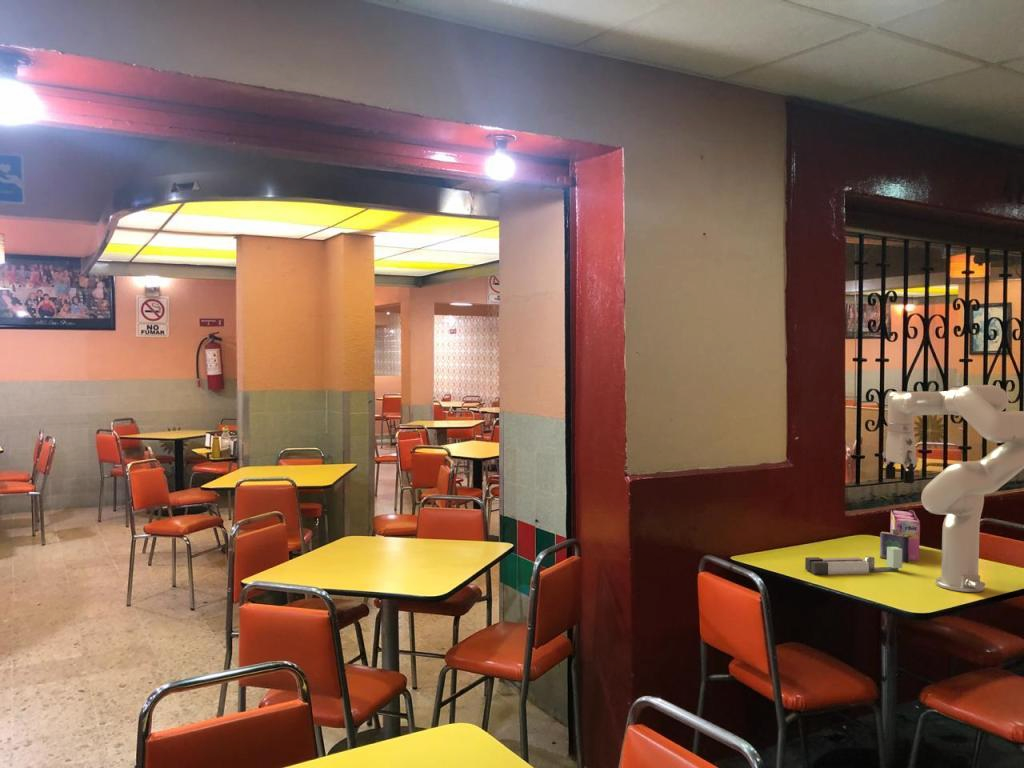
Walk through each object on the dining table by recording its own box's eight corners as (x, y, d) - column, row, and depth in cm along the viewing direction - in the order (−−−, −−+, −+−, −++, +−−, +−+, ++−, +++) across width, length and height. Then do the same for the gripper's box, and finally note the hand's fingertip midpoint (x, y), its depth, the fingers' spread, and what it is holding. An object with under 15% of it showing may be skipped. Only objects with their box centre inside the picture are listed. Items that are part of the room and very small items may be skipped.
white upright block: (901, 567, 245) (902, 549, 245) (893, 568, 245) (893, 549, 245) (895, 565, 248) (895, 546, 248) (886, 565, 248) (886, 546, 248)
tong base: (903, 573, 244) (903, 559, 244) (814, 575, 240) (815, 561, 240) (894, 569, 248) (894, 555, 248) (807, 571, 245) (807, 557, 245)
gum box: (889, 544, 284) (889, 508, 284) (913, 546, 281) (913, 509, 281) (893, 559, 262) (894, 519, 262) (919, 561, 259) (920, 521, 259)
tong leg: (863, 570, 246) (863, 558, 246) (809, 571, 244) (809, 559, 243) (858, 567, 248) (858, 556, 248) (805, 569, 246) (805, 557, 246)
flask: (878, 558, 263) (879, 527, 263) (882, 556, 265) (883, 525, 265) (906, 563, 256) (907, 531, 256) (910, 562, 258) (911, 530, 258)
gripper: (928, 431, 243) (927, 484, 243) (894, 426, 260) (893, 476, 260) (906, 431, 242) (905, 485, 242) (874, 426, 259) (873, 477, 260)
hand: (899, 480), depth 251 cm, fingers open, 9 cm apart
